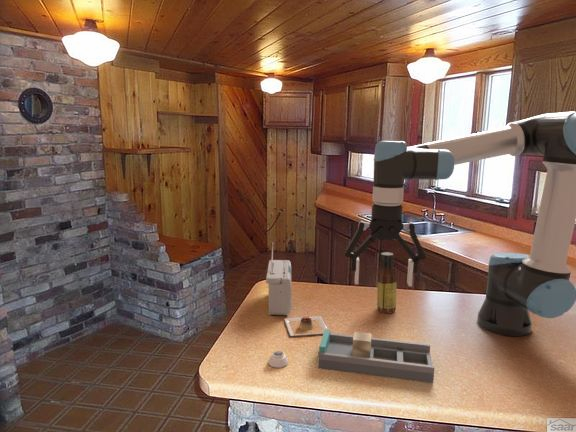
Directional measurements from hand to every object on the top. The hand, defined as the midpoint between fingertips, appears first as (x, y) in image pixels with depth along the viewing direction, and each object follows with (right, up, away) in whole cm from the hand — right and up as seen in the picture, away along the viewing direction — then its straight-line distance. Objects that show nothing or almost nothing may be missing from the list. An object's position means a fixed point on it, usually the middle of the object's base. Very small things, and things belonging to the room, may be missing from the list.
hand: (382, 283), depth 112 cm
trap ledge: (-2, -21, 0) cm, 21 cm away
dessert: (-19, -17, +21) cm, 33 cm away
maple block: (-5, -18, +1) cm, 19 cm away
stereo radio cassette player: (-28, -13, +38) cm, 49 cm away
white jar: (-27, -21, 0) cm, 34 cm away
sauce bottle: (+8, -14, +33) cm, 37 cm away
